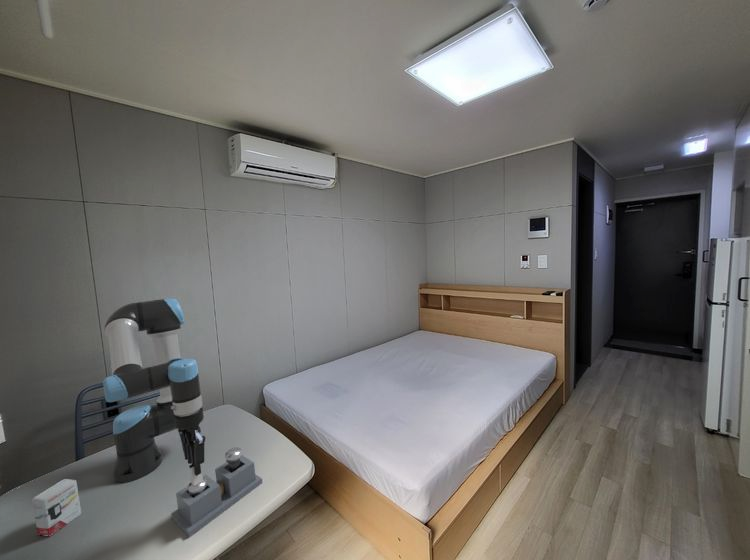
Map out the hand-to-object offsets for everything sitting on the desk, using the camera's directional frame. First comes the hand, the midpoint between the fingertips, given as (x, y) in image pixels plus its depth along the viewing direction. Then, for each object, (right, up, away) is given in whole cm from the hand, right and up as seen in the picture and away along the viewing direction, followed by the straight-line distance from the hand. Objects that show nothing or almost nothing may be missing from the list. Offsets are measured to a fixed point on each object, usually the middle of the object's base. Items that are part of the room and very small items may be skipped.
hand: (197, 482), depth 94 cm
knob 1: (0, -8, +1) cm, 8 cm away
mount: (+4, -10, +6) cm, 12 cm away
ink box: (-43, -13, 0) cm, 45 cm away
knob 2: (+7, -4, +10) cm, 13 cm away
